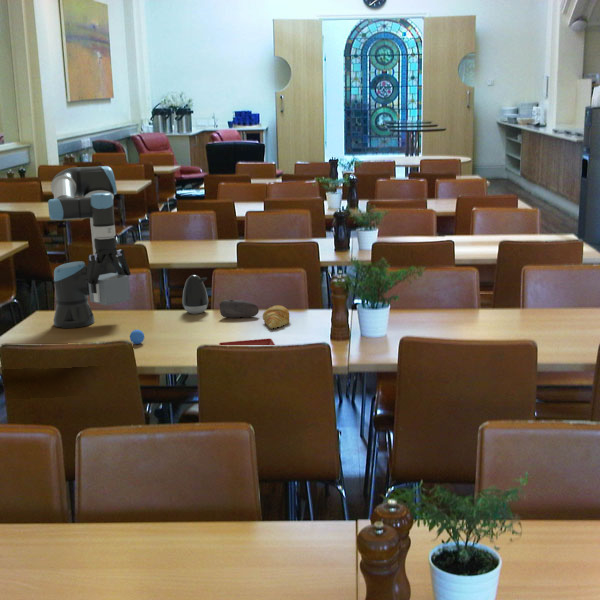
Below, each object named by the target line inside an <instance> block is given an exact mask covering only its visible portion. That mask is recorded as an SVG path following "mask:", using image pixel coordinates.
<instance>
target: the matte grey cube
mask: <svg viewBox="0 0 600 600" xmlns="http://www.w3.org/2000/svg"><path fill="white" fill-rule="evenodd" d="M88 284H89V302H90V303H93V304H99V305H103V306H111V305H116V304H120V303H124V302H127V301H131V299H132V298H131V288H130V287H131V286H130V275H128V276H126V275H121V274H116V273H108V274H103V275H100V276H99V278H98V281H97V283H96V284H99V293H100V302H95V301H94V295H93V293H92V292H91V284H90V283H88Z"/></svg>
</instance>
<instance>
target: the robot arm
mask: <svg viewBox="0 0 600 600" xmlns="http://www.w3.org/2000/svg"><path fill="white" fill-rule="evenodd" d="M114 174H115V173H114V171H113V169H112V168H111V167H110V166H108V165H104V166H103V165H98V166H80V167H76V166H75V167H69V168H65V169H64V170H62V171H60V172H58V173H57V174H56V175H55V176H54V177H53V178H52V180H51V183H50V190H51V193H52V194H53V198H51V199H49V200H48V201H47V206H48V207H47V208H48V216H49V219H50V220H51V221H63V220H67V221H68V220H77V219H89V224H90V230H91V231H90V233H91V243H92V254H88V256H87V260H88V262H87V265H86V263H85V262H84V261H72V262H67V263H63V264H61V265H58V266H57V267H55V269H54V271H53V282H54V291H55V300H56V301H55V302H56V306H55V312H54V315H53V326H54V327H55V326H56V328H59V327H62V328H61V329H74V328H75V327H77V328H83V327H87V326H91V325H92V324H94V323H95V315H94V313H93V311H92V308H91V306H90V304H89V299H88V296H89V297H90V295H89V284H88V283H90V284H91V292H92V293H93V295H94V301H95V302H100V293H99V284H96V283H97V281H98V278H99V276H100V275H103V274H108V273H116V274H121V275H126V276H131V270H130V267H129V265H128V262H127V260H126V256H125V250H124V249H117V246H118V244H117V237H115V236H116V235H117V234H116V225H115V222H116V221H115V211H114V209H115V208H114V199H115V198H114V196H115V195H117V193H118V191H117V190H118V189H117V184H116V178H115V175H114ZM75 329H76V328H75Z"/></svg>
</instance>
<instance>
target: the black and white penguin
mask: <svg viewBox="0 0 600 600" xmlns="http://www.w3.org/2000/svg"><path fill="white" fill-rule="evenodd" d="M207 279H208V277H207V276H205V277H204V276H203V277H202V278H201V277H200V276H199V275H197V274H192V275H191V274H190V276H189V277H188V278H187V279H186V281H185V283H184V288H183V291H182V306H183V308H184V310H185V311H186V312H187V313H188V314H191V315H198V314H202V313H204V312H205V311H206V310H207V308H208V304H209V298H208V292H207V288H206V286H205V283H204V282H205V281H206V280H207Z"/></svg>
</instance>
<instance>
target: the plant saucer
mask: <svg viewBox="0 0 600 600" xmlns="http://www.w3.org/2000/svg"><path fill="white" fill-rule="evenodd" d="M218 345H219V346H220V345H276V343H275V342H274V341H273V339H272V338H260V339H258V338H257V339H248V340H247V339H245V340H235V341H223V342H219V343H218Z"/></svg>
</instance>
